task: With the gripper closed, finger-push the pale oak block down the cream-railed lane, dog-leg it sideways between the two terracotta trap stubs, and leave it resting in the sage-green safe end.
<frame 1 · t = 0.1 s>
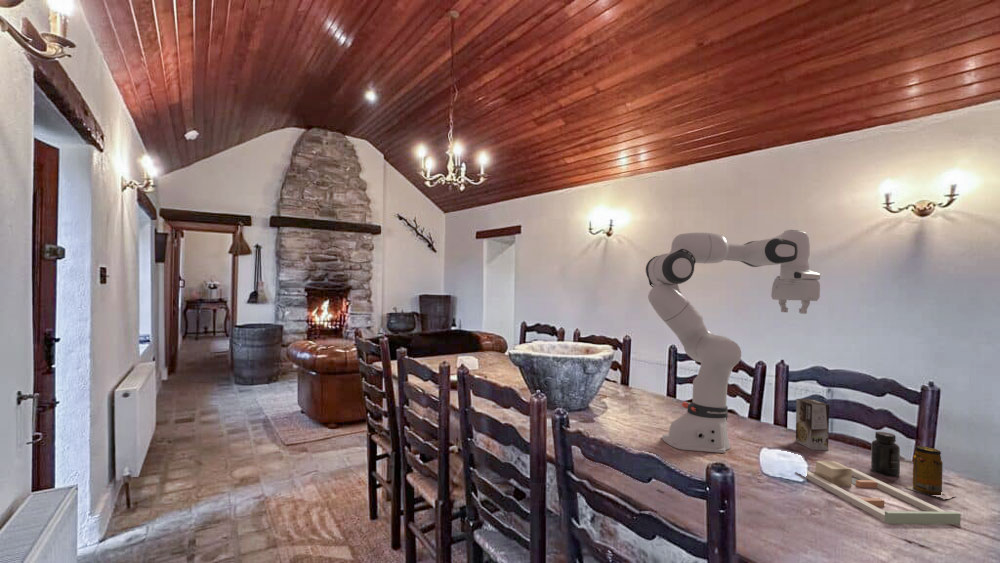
hand: (793, 313, 165), 48 cm above the table, fingers open, 8 cm apart
oak block: (833, 482, 132), on the table
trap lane: (866, 494, 124), on the table
coffee box: (811, 446, 165), on the table
condiment: (930, 493, 127), on the table
supplement bottle: (885, 473, 141), on the table
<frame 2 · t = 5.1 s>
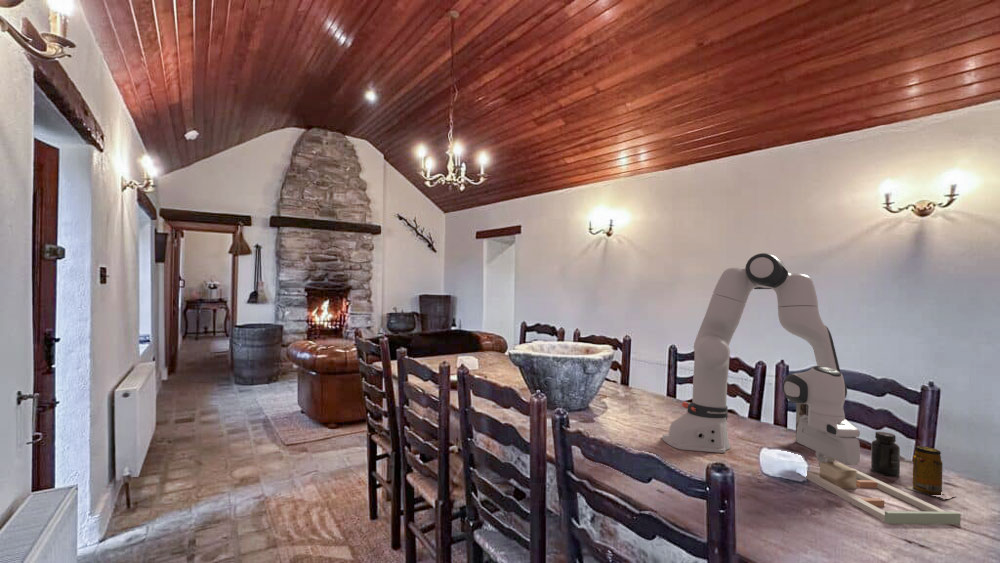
hand: (824, 468, 136), 2 cm above the table, fingers closed
oak block: (837, 483, 131), on the table, touching gripper
everything else where it was.
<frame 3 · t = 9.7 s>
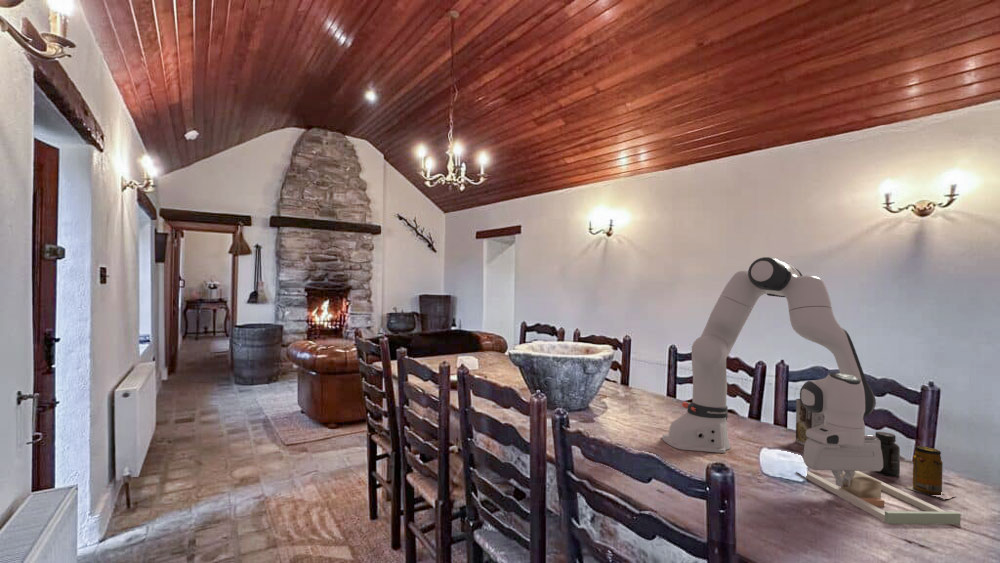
hand: (842, 486, 123), 2 cm above the table, fingers closed
oak block: (860, 495, 123), on the table, touching gripper
everything else where it was.
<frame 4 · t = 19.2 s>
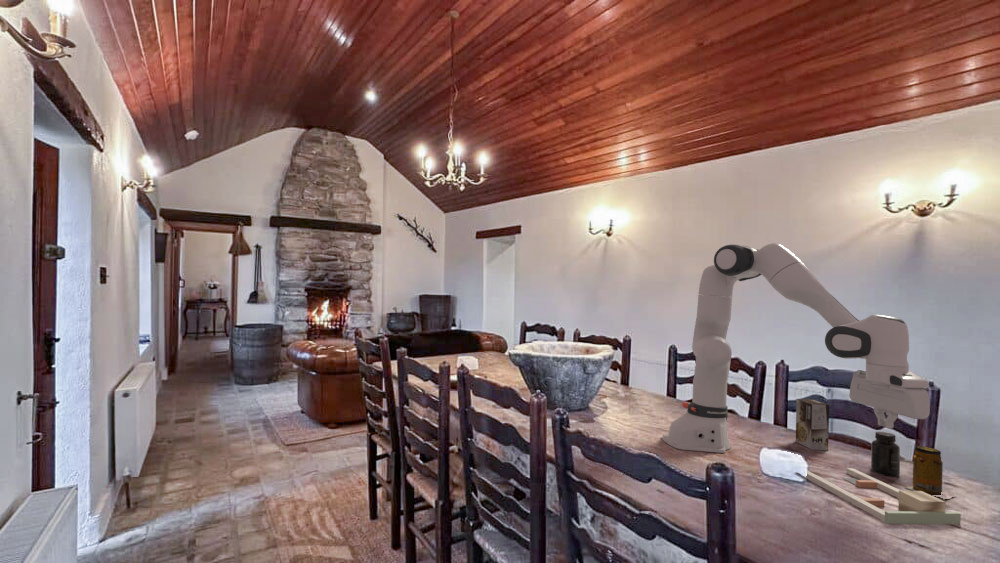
hand: (885, 426, 123), 19 cm above the table, fingers closed
oak block: (921, 516, 113), on the table
everything else where it was.
at the end: oak block inside the target area (3.5 cm from its centre), on the table; oak block tilted 0° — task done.
